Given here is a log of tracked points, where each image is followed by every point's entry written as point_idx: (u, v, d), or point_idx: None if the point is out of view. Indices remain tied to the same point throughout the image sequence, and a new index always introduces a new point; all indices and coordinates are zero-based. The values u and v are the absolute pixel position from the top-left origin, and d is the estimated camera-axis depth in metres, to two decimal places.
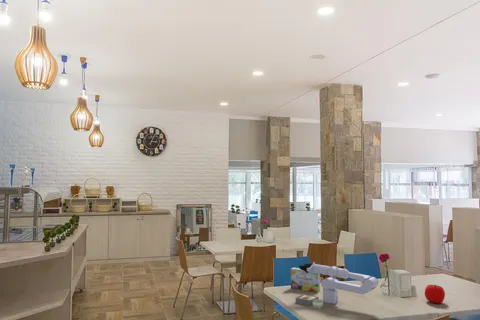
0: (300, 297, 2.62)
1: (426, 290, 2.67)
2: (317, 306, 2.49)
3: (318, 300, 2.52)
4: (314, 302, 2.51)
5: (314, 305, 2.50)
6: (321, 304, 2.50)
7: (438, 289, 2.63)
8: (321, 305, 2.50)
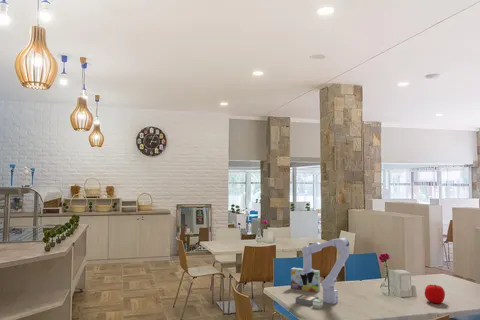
0: (300, 297, 2.62)
1: (426, 290, 2.67)
2: (317, 306, 2.49)
3: (318, 300, 2.52)
4: (314, 302, 2.51)
5: (314, 305, 2.50)
6: (321, 304, 2.50)
7: (438, 289, 2.63)
8: (321, 305, 2.50)
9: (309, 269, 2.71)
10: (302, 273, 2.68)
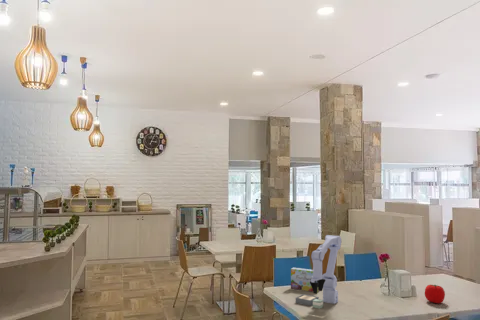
0: (300, 297, 2.62)
1: (426, 290, 2.67)
2: (317, 306, 2.49)
3: (318, 300, 2.52)
4: (314, 302, 2.51)
5: (314, 305, 2.50)
6: (321, 304, 2.50)
7: (438, 289, 2.63)
8: (321, 305, 2.50)
9: (320, 276, 2.50)
10: (312, 280, 2.47)
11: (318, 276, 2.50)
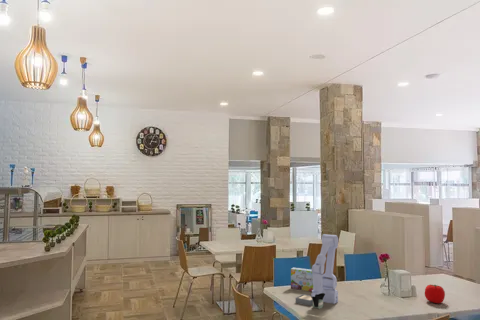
0: (300, 297, 2.62)
1: (426, 290, 2.67)
2: None
3: None
4: None
5: None
6: (321, 304, 2.50)
7: (438, 289, 2.63)
8: (321, 305, 2.50)
9: (320, 290, 2.50)
10: (312, 295, 2.46)
11: (318, 290, 2.50)
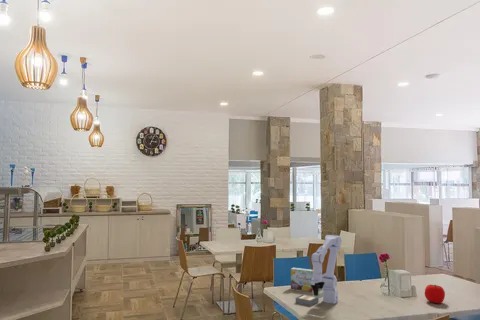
0: (300, 297, 2.62)
1: (426, 290, 2.67)
2: None
3: None
4: None
5: None
6: (321, 292, 2.51)
7: (438, 289, 2.63)
8: (321, 293, 2.51)
9: (320, 278, 2.50)
10: (312, 283, 2.47)
11: (318, 278, 2.50)
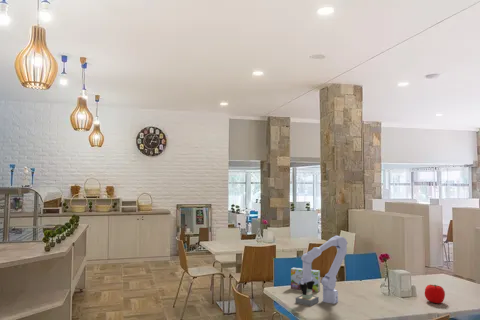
0: (300, 297, 2.62)
1: (426, 290, 2.67)
2: (306, 295, 2.59)
3: (307, 290, 2.62)
4: None
5: None
6: (310, 293, 2.60)
7: (438, 289, 2.63)
8: (310, 294, 2.60)
9: (309, 278, 2.60)
10: (302, 282, 2.57)
11: (307, 278, 2.60)
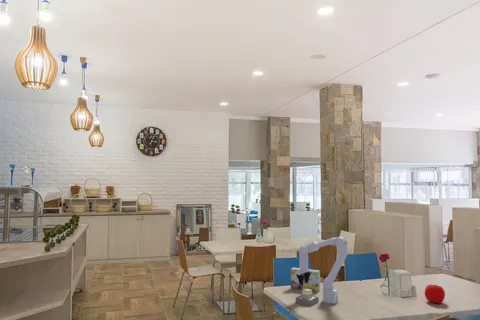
0: (300, 297, 2.62)
1: (426, 290, 2.67)
2: (306, 295, 2.59)
3: (307, 290, 2.62)
4: (303, 291, 2.61)
5: (303, 294, 2.60)
6: (310, 293, 2.60)
7: (438, 289, 2.63)
8: (310, 294, 2.60)
9: (305, 269, 2.69)
10: (298, 273, 2.65)
11: (304, 269, 2.69)
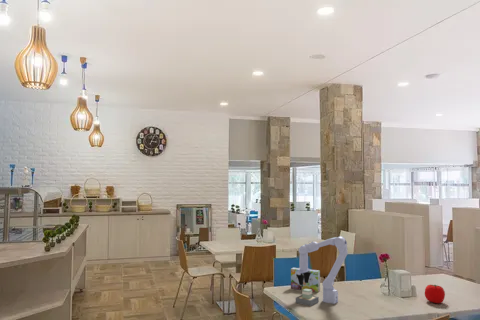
0: (300, 297, 2.62)
1: (426, 290, 2.67)
2: (306, 295, 2.59)
3: (307, 290, 2.62)
4: (303, 291, 2.61)
5: (303, 294, 2.60)
6: (310, 293, 2.60)
7: (438, 289, 2.63)
8: (310, 294, 2.60)
9: (305, 269, 2.69)
10: (298, 273, 2.66)
11: (304, 269, 2.69)
